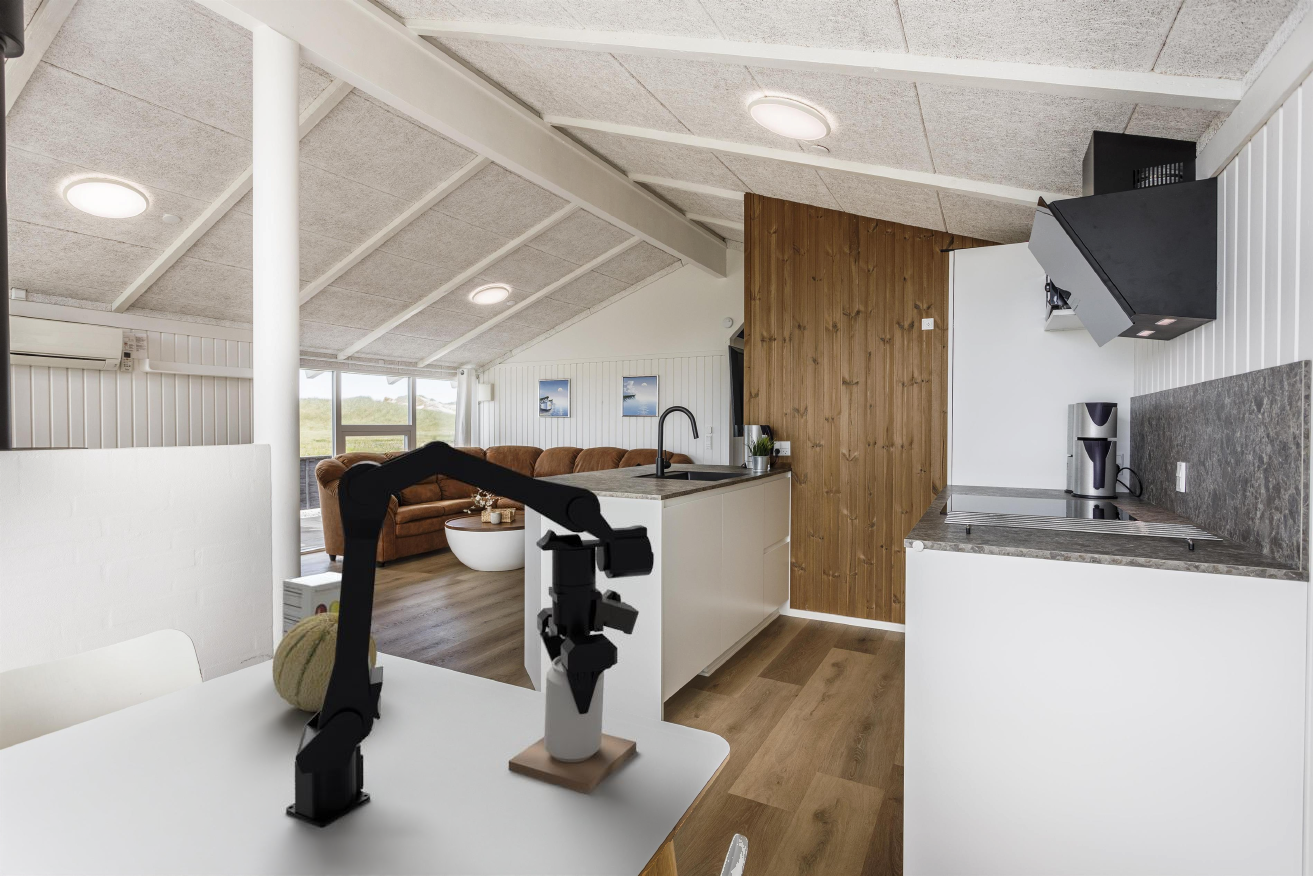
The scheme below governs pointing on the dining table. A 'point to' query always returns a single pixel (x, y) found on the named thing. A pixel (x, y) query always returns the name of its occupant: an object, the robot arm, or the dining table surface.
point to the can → (571, 719)
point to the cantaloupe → (309, 661)
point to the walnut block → (574, 764)
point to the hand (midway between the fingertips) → (574, 699)
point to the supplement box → (310, 597)
